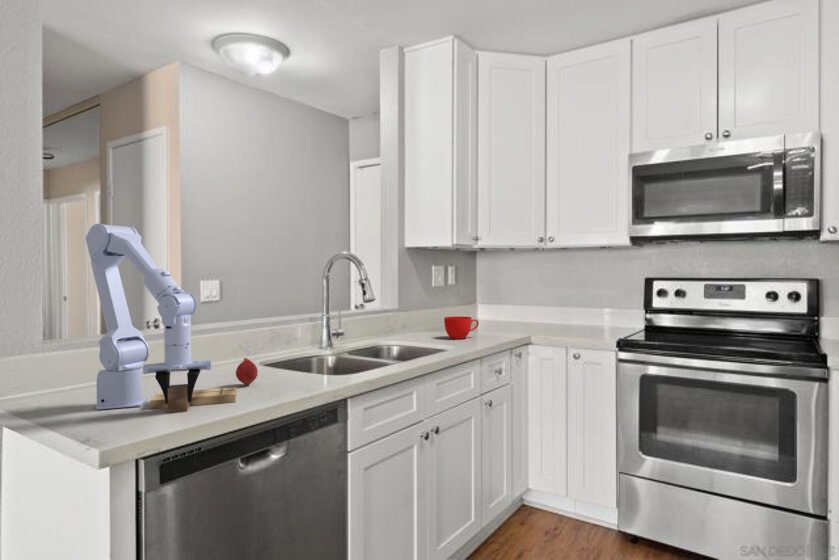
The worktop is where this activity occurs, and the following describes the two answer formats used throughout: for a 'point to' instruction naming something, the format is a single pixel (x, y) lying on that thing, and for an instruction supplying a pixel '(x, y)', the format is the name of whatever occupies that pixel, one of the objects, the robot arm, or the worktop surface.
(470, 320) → the ceramic cup
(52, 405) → the worktop surface
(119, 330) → the robot arm
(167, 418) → the worktop surface
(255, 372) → the onion
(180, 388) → the brown wooden block
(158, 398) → the board
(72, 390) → the worktop surface
